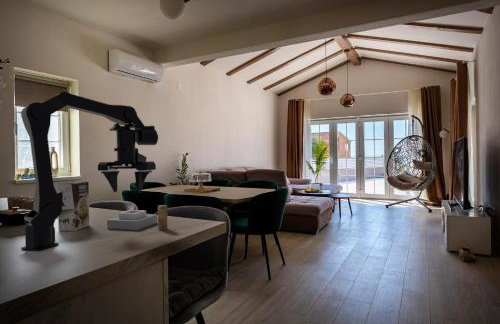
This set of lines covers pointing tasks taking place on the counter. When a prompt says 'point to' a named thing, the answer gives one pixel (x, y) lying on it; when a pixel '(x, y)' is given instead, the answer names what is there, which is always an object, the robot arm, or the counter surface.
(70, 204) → the coffee box
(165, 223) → the tapered wooden peg
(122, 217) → the button box
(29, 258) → the counter surface
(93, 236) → the counter surface
